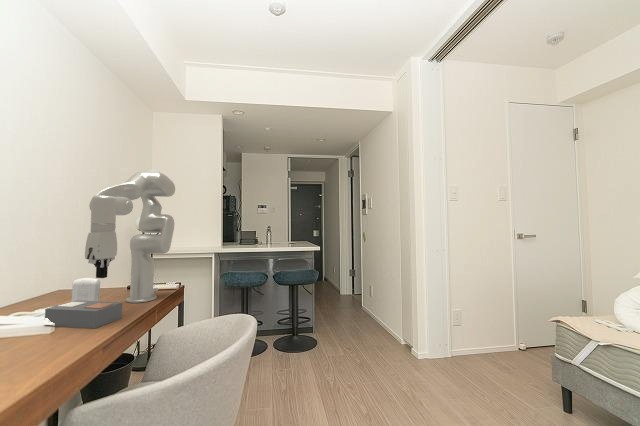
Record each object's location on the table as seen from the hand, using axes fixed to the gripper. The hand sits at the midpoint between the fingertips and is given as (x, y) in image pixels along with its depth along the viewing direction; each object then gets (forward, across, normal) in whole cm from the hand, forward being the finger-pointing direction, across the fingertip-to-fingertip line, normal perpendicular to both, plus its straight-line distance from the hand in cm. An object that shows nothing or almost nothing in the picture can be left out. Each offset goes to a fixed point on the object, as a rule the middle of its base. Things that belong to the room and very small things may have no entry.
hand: (101, 277), depth 111 cm
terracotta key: (+15, +1, 0) cm, 15 cm away
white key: (+15, +1, -11) cm, 18 cm away
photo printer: (+17, -18, -23) cm, 34 cm away
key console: (+16, +1, -5) cm, 17 cm away
